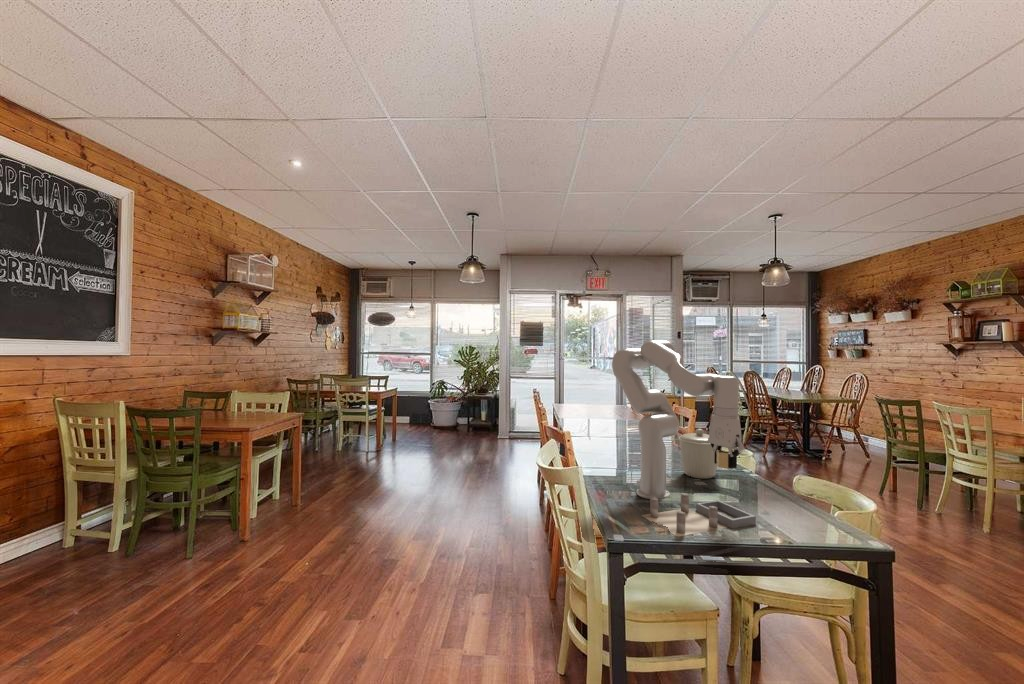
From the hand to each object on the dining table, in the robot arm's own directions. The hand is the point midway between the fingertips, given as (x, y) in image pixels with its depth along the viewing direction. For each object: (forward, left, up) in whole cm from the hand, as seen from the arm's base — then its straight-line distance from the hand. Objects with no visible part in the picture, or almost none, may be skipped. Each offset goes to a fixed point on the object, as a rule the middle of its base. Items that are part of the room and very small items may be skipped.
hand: (725, 465), depth 157 cm
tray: (0, 0, -19) cm, 19 cm away
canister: (-43, +29, -19) cm, 55 cm away
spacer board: (-2, -16, -19) cm, 25 cm away
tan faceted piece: (0, 0, 0) cm, 0 cm away
